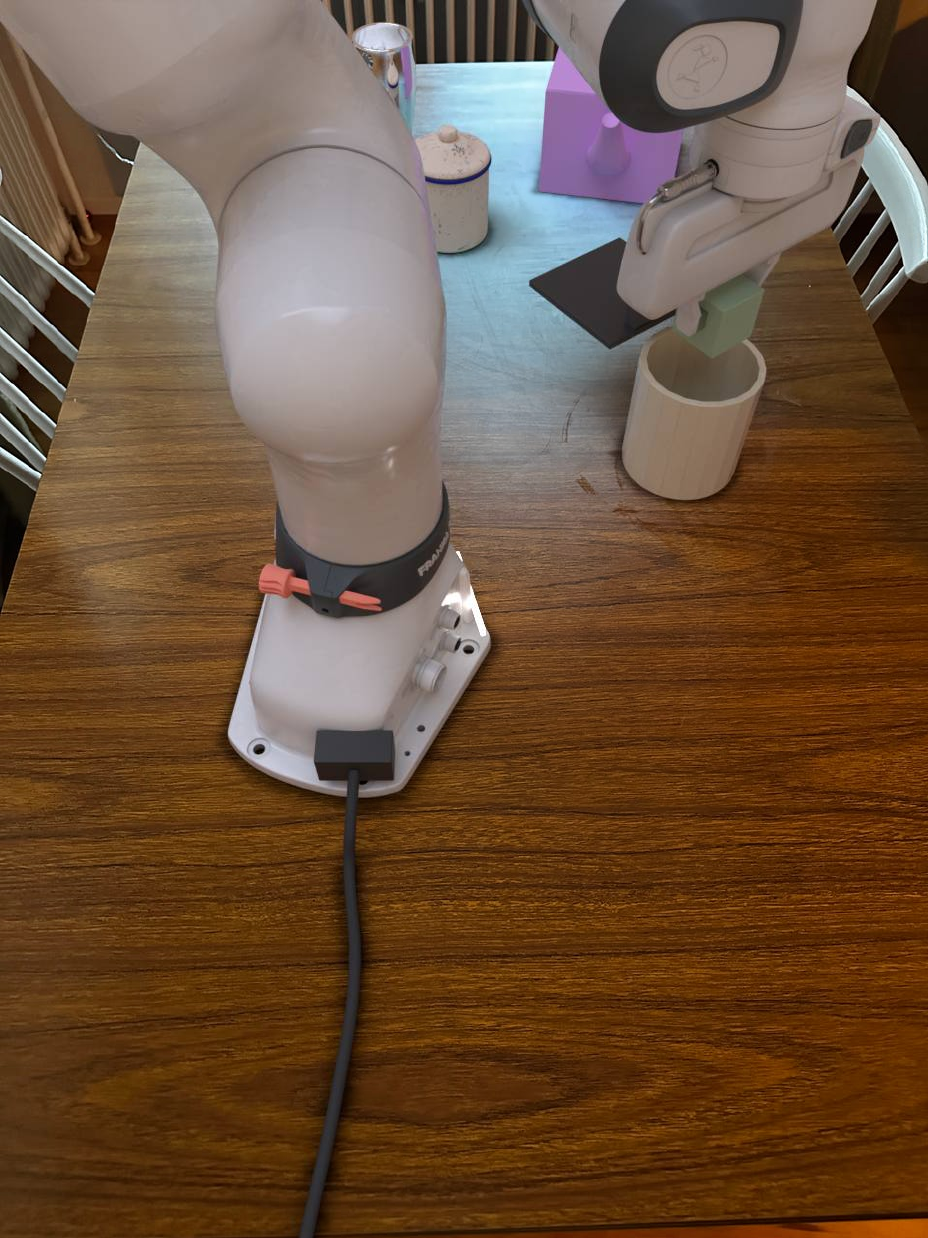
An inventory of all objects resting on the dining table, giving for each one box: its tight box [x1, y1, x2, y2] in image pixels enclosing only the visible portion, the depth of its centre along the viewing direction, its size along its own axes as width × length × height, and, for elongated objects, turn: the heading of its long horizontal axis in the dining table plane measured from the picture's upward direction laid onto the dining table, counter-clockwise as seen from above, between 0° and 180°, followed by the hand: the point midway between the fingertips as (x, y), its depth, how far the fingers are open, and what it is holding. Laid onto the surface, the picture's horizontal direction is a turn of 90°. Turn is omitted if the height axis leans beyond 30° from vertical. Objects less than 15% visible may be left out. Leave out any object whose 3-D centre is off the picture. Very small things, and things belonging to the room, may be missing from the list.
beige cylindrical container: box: [621, 325, 768, 501], centre depth 82 cm, size 10×10×11 cm
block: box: [672, 274, 765, 359], centre depth 74 cm, size 4×4×4 cm
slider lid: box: [528, 237, 677, 350], centre depth 81 cm, size 11×11×4 cm
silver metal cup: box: [351, 21, 418, 134], centre depth 108 cm, size 7×7×15 cm
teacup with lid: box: [414, 124, 492, 254], centre depth 102 cm, size 12×9×12 cm
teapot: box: [538, 46, 685, 204], centre depth 108 cm, size 15×25×14 cm, turn 169°
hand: (716, 314), depth 74 cm, fingers closed on block, 4 cm apart
